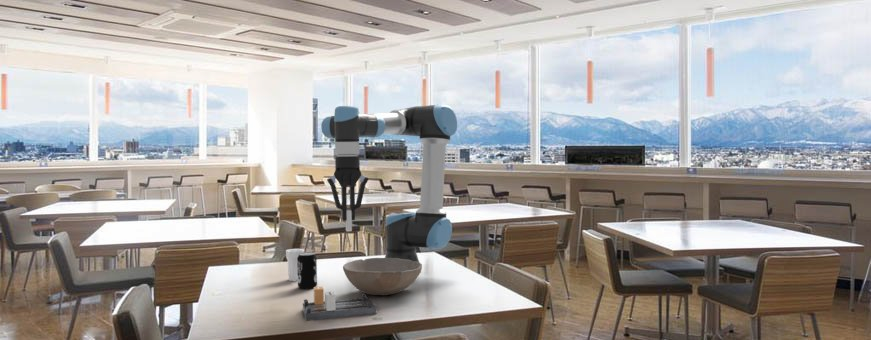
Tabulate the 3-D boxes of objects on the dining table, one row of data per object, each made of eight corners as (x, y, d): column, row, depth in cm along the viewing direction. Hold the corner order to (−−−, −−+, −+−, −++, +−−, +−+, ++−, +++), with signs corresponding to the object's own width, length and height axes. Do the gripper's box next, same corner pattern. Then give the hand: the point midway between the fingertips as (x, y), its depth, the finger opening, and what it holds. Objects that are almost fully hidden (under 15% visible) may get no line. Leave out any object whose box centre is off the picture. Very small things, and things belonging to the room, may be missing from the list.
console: (368, 304, 185) (368, 293, 184) (376, 314, 173) (376, 303, 173) (302, 309, 179) (302, 299, 179) (306, 320, 167) (306, 309, 167)
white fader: (333, 307, 173) (333, 291, 173) (335, 310, 170) (335, 294, 170) (325, 307, 172) (324, 292, 172) (326, 311, 169) (326, 294, 169)
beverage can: (312, 289, 205) (311, 255, 204) (294, 289, 206) (293, 254, 206) (320, 285, 211) (319, 251, 211) (302, 285, 212) (301, 251, 212)
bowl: (403, 281, 216) (402, 254, 216) (436, 297, 192) (435, 266, 192) (332, 290, 204) (332, 261, 204) (358, 307, 181) (358, 274, 180)
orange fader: (322, 301, 180) (322, 286, 180) (323, 304, 177) (323, 288, 177) (313, 302, 179) (313, 286, 179) (315, 304, 176) (314, 289, 176)
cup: (291, 282, 217) (291, 252, 217) (283, 279, 222) (282, 250, 222) (308, 279, 222) (307, 250, 221) (299, 276, 227) (298, 248, 226)
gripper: (365, 155, 192) (367, 228, 193) (324, 156, 188) (326, 230, 189) (370, 155, 185) (371, 231, 185) (327, 156, 181) (329, 233, 182)
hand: (348, 230), depth 187 cm, fingers closed
